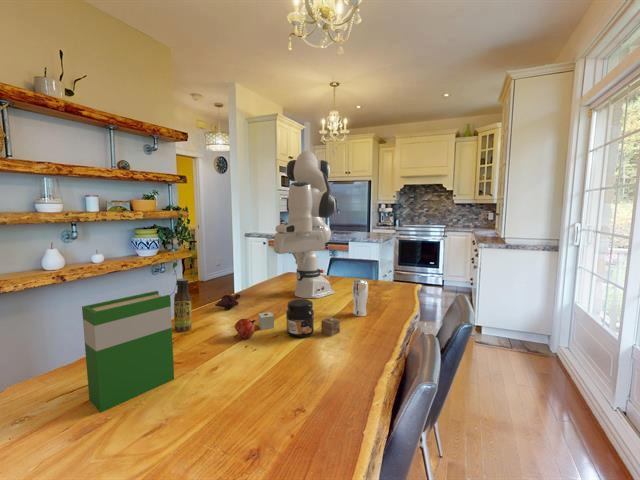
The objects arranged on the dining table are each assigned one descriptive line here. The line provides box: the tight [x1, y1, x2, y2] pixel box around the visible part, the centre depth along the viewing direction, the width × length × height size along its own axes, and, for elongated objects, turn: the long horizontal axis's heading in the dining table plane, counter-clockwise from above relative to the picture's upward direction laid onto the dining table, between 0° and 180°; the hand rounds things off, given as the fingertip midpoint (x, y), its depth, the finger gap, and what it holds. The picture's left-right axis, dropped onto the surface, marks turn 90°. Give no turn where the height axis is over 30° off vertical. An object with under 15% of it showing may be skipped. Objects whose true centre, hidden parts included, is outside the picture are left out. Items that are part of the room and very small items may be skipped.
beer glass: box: [351, 279, 369, 318], centre depth 139 cm, size 7×7×15 cm
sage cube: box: [257, 311, 275, 331], centre depth 125 cm, size 5×5×5 cm
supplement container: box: [285, 298, 315, 339], centre depth 118 cm, size 10×10×12 cm
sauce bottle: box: [173, 278, 192, 333], centre depth 120 cm, size 6×6×20 cm
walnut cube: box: [320, 316, 341, 337], centre depth 119 cm, size 5×5×5 cm
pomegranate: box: [233, 318, 257, 340], centre depth 114 cm, size 7×7×10 cm
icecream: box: [214, 293, 241, 311], centre depth 145 cm, size 7×7×15 cm
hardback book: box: [81, 290, 175, 413], centre depth 81 cm, size 18×7×24 cm, turn 143°
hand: (300, 263), depth 116 cm, fingers closed
